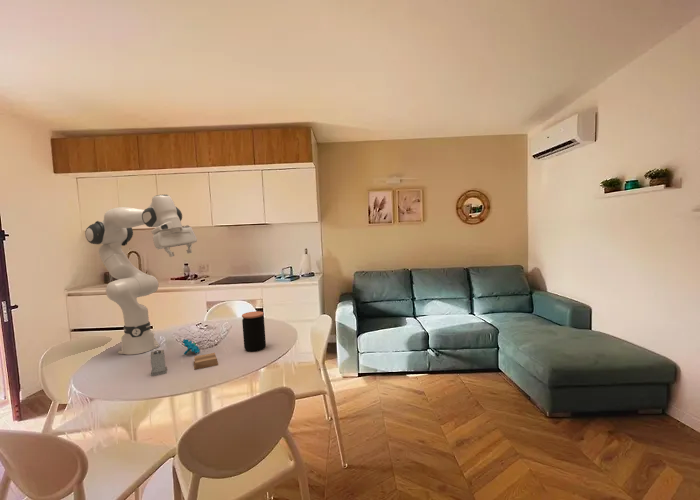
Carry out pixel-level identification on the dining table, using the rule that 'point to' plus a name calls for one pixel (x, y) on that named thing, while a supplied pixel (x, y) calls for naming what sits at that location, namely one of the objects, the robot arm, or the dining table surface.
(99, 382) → the dining table surface
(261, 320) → the coffee jar
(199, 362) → the stand
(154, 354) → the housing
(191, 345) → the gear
